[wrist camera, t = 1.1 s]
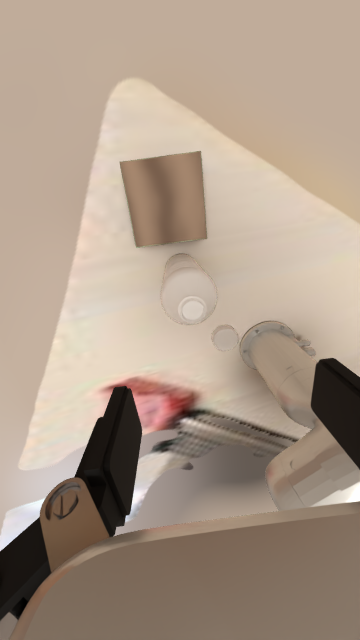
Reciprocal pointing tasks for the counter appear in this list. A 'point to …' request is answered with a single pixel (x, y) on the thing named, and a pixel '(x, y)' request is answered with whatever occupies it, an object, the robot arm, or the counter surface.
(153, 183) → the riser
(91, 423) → the counter surface
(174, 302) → the water bottle
